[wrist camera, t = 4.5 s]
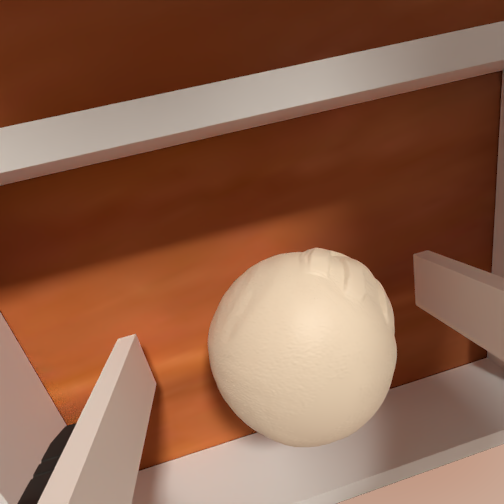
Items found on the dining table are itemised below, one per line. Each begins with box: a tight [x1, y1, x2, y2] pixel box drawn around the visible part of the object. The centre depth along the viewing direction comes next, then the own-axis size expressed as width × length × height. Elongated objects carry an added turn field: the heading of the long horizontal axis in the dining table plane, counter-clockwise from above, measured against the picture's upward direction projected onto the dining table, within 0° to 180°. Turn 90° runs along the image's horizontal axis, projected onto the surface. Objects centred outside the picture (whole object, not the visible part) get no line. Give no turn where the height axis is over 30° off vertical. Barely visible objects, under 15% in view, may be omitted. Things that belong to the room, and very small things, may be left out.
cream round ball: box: [208, 248, 397, 447], centre depth 11 cm, size 7×7×7 cm
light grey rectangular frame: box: [0, 21, 504, 504], centre depth 12 cm, size 26×18×4 cm
